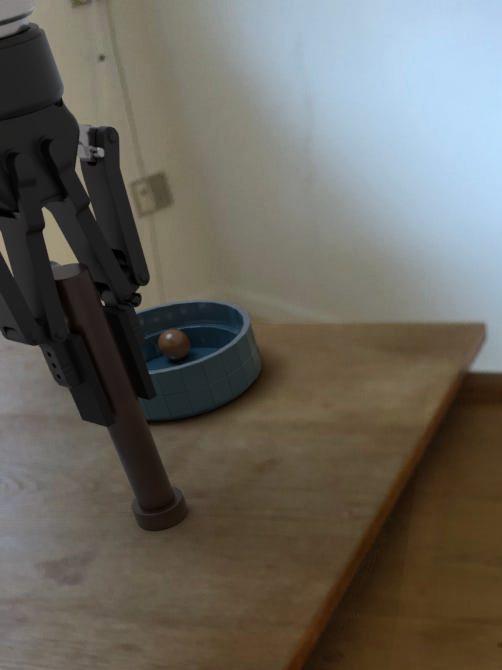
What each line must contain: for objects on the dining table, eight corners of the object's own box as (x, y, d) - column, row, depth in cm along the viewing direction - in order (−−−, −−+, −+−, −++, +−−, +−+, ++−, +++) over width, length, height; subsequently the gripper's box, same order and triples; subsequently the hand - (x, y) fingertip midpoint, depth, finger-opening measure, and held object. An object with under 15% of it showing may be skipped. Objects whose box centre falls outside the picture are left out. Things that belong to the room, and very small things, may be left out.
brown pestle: (131, 532, 74) (25, 286, 61) (145, 502, 77) (48, 261, 64) (180, 529, 74) (85, 281, 61) (193, 499, 77) (105, 256, 64)
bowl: (82, 430, 87) (61, 380, 84) (131, 353, 98) (114, 306, 95) (245, 418, 86) (229, 367, 82) (276, 341, 97) (263, 293, 93)
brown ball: (160, 367, 94) (150, 338, 92) (168, 352, 96) (158, 324, 94) (189, 364, 93) (180, 335, 91) (197, 350, 96) (188, 322, 94)
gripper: (-123, 72, 47) (66, 478, 63) (126, -2, 56) (234, 365, 72) (-204, 68, 50) (-6, 453, 66) (44, -2, 60) (165, 349, 76)
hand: (120, 407), depth 69 cm, fingers open, 3 cm apart
